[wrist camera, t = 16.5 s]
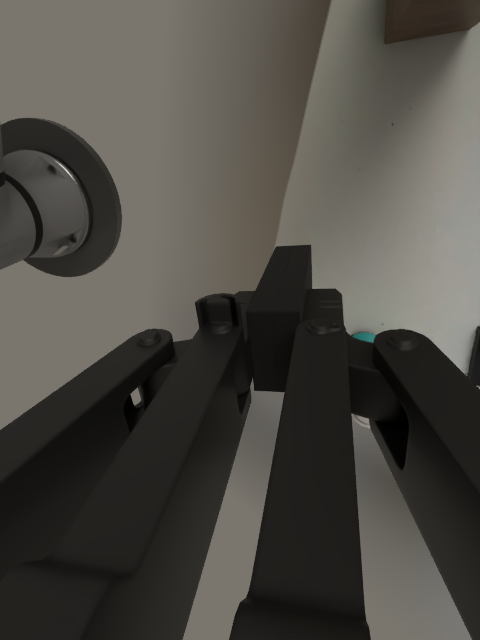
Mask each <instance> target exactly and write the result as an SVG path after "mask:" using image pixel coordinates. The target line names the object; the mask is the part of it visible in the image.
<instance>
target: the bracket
mask: <svg viewBox="0 0 480 640" xmlns="http://www.w3.org/2000/svg"><path fill="white" fill-rule="evenodd" d="M468 378H469V379H470V380H471V381H472V382H473V383H474V384H475V385H477V386H480V326H478V328H477V333H476V338H475V343H474V348H473V353H472V357H471V362H470V367H469V372H468Z"/></svg>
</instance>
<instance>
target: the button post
mask: <svg viewBox="0 0 480 640" xmlns="http://www.w3.org/2000/svg"><path fill="white" fill-rule="evenodd" d="M479 22H480V0H387V5H386V23H385V42H384V43H385V44H388V43H393V42H399V41H405V40H411V39H417V38H423V37H429V36H435V35H441V34H447V33H453V32H459V31H465V30H469V29H471V28H472V27H473V26H475V25H476V24H478V23H479Z"/></svg>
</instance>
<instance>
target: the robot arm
mask: <svg viewBox="0 0 480 640" xmlns="http://www.w3.org/2000/svg"><path fill="white" fill-rule="evenodd" d="M92 224H93V211H92V205H91V201H90V198H89V195H88V193H87V190H86V188H85V186H84V184H83V183H82V181H81V179H80V178H79V177H78V175H77V174H76V173H75V171H74V170H73V169H72V168H71V167H70V166H69V165H68V164H67V163H65V162H64V161H63V160H61V159H60V158H58V157H57V156H55V155H53V154H51V153H49V152H46V151H42V150H36V149H29V150H19V151H15V152H12V153H10V154H7V155H6V156H4V157H3V148H2V137H1V127H0V270H1V269H3V268H5V267H8V266H10V265H12V264H14V263H17V262H19V261H21V260H23V259H26V258H28V257H41V258H54V257H61V256H65V255H68V254H70V253H72V252H74V251H76V250H78V249H79V248H81V247H82V246H83V245H84V244H85V242H86V241H87V239H88V237H89V235H90V233H91V229H92ZM195 305H196V311H197V317H198V322H199V330H198V331H197V333H196V334H195V336H194V337H193V339H190V340H185V341H178V342H173V338H172V334H171V333H170V332H169V331H167V330H163V329H151V330H150V329H148V330H145V331H144V332H141V333H138V334H136V335H134V336H132V337H131V338H129V339H128V340H127V341H125V342H124V343H122V344H121V345H120V346H118V347H117V348H115V349H114V350H113V351H111V352H110V353H108V354H107V355H106V356H104V357H103V358H101V359H100V360H99V361H97V362H96V363H94V364H93V365H91V366H90V367H89V368H87V369H86V370H84V371H83V372H82V373H80V374H79V375H77V376H76V377H75V378H73V379H72V380H70V381H69V382H67V383H66V384H65V385H63V386H62V387H60V388H59V389H58V390H56V391H55V392H53V393H52V394H51V395H49V396H48V397H46V398H45V399H44V400H42V401H41V402H39V403H38V404H37V405H35V406H34V407H32V408H31V409H29V410H28V411H27V412H25V413H24V414H23V415H21V416H20V417H18V418H17V419H15V420H14V421H13V422H11V423H10V424H8V425H7V426H6V427H4V428H3V429H1V430H0V640H182V639H183V636H184V633H185V629H186V626H187V622H188V619H189V615H190V612H191V608H192V605H193V601H194V598H195V595H196V591H197V588H198V584H199V581H200V577H201V574H202V570H203V567H204V563H205V560H206V556H207V553H208V549H209V546H210V542H211V539H212V535H213V532H214V529H215V525H216V522H217V518H218V515H219V511H220V508H221V504H222V501H223V497H224V494H225V490H226V487H227V483H228V480H229V477H230V473H231V469H232V466H233V462H234V459H235V456H236V452H237V449H238V445H239V442H240V438H241V434H242V431H243V428H244V424H245V421H246V417H247V414H248V410H249V407H250V404H251V390H250V385H251V382H252V378H253V382H254V390H255V391H273V392H285V394H284V400H283V405H282V411H281V417H280V422H279V427H278V434H277V439H276V445H275V450H274V455H273V461H272V467H271V472H270V478H269V483H268V489H267V494H266V500H265V506H264V512H263V517H262V522H261V528H260V533H259V539H258V545H257V550H256V556H255V562H254V567H253V573H252V578H251V583H250V587H249V591H248V594H247V597H246V598H245V599H244V600H243V601H241V602H240V604H239V607H238V609H237V612H236V614H235V617H234V622H233V626H232V630H231V634H230V638H229V640H371V638H370V631H369V626H368V624H367V621H366V615H365V606H364V593H363V578H362V563H361V548H360V534H359V519H358V505H357V489H356V475H355V460H354V446H353V430H352V416H351V414H354V415H357V416H361V417H364V418H368V419H369V425H370V428H371V430H372V433H373V435H374V436H375V439H376V441H377V443H378V445H379V447H380V449H381V451H382V453H383V455H384V457H385V460H386V461H387V464H388V466H389V468H390V470H391V472H392V474H393V476H394V478H395V480H396V482H397V484H398V487H399V489H400V491H401V493H402V495H403V497H404V499H405V501H406V503H407V505H408V507H409V509H410V511H411V513H412V516H413V518H414V520H415V522H416V524H417V526H418V528H419V530H420V532H421V534H422V536H423V538H424V540H425V543H426V545H427V547H428V549H429V551H430V553H431V555H432V557H433V559H434V561H435V563H436V565H437V568H438V570H439V572H440V574H441V576H442V578H443V580H444V582H445V584H446V586H447V588H448V590H449V592H450V594H451V597H452V599H453V601H454V603H455V605H456V607H457V609H458V611H459V613H460V615H461V617H462V619H463V621H464V623H465V626H466V628H467V630H468V632H469V634H470V636H471V638H472V640H480V389H479V388H478V387H477V386H476V385H475V384H474V383H473V382H472V381H471V380H470V379H469V378H468V377H467V376H466V375H465V374H464V373H463V372H462V371H461V370H460V369H459V368H458V367H457V366H456V365H455V364H454V363H453V362H452V361H451V360H450V359H449V358H448V357H447V356H446V355H445V354H444V353H443V352H442V351H441V350H440V349H439V348H438V347H437V346H436V345H435V344H434V343H433V342H432V341H431V340H430V339H428V338H427V337H425V336H424V335H422V334H419V333H417V332H414V331H411V330H406V329H398V330H388V331H383V332H381V333H379V334H377V335H376V337H375V338H374V343H373V342H367V341H363V340H359V339H357V338H354V337H352V336H350V335H349V334H348V333H347V332H346V328H345V326H344V320H343V305H342V294H341V293H340V292H339V291H337V290H336V289H312V264H311V245H299V246H277V247H276V248H275V250H274V252H273V254H272V256H271V258H270V261H269V263H268V265H267V267H266V269H265V271H264V274H263V276H262V278H261V280H260V282H259V284H258V286H257V289H256V291H242V292H241V291H239V292H238V293H236V294H235V295H233V294H226V293H222V294H213V295H209V296H205V297H203V298H201V299H199V300H198V301H197V302H195ZM137 387H138V390H139V393H140V397H141V402H140V403H138V404H137V405H135V406H134V404H133V401H132V398H131V395H130V394H131V393H132V392H133V391H134V390H135V389H136V388H137Z"/></svg>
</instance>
